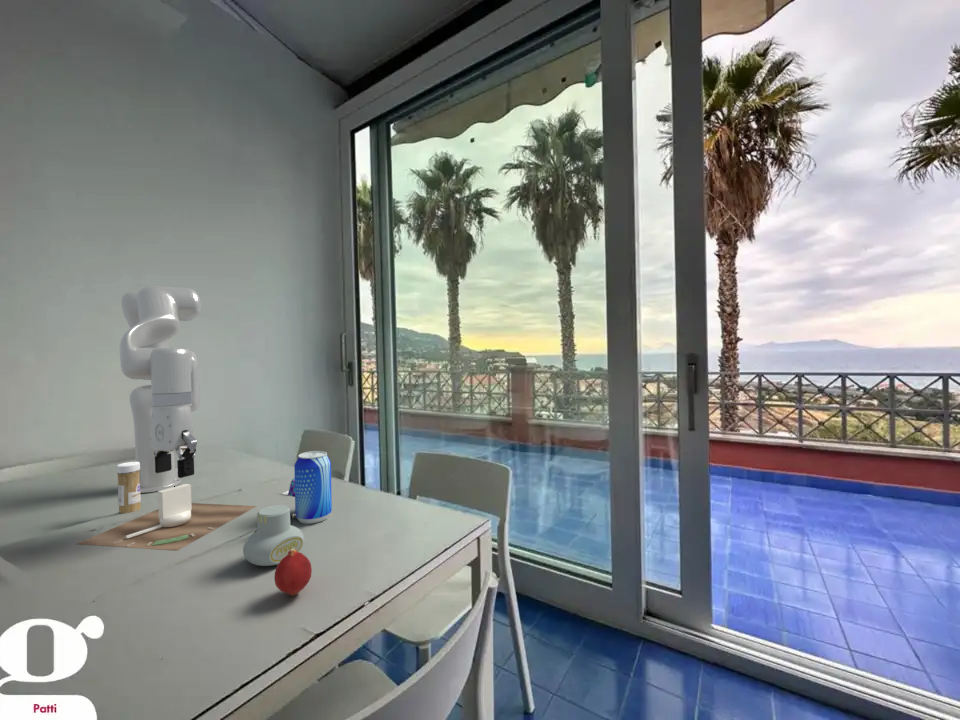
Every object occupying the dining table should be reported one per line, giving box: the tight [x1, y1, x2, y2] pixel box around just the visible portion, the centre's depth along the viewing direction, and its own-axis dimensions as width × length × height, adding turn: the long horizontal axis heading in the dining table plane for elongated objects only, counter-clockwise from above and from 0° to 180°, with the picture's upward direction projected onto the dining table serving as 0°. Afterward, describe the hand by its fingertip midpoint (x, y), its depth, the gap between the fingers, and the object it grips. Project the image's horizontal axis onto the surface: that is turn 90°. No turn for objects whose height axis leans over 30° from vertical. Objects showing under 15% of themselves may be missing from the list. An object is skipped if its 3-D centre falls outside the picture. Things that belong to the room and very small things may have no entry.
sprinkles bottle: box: [116, 461, 142, 514], centre depth 106 cm, size 5×5×14 cm
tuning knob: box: [126, 483, 192, 539], centre depth 95 cm, size 12×6×8 cm, turn 152°
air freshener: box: [242, 504, 305, 567], centre depth 83 cm, size 11×8×10 cm
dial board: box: [76, 502, 257, 551], centre depth 98 cm, size 24×24×2 cm
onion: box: [274, 549, 313, 597], centre depth 71 cm, size 6×6×8 cm
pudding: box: [282, 477, 295, 498], centre depth 120 cm, size 12×12×5 cm
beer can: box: [293, 450, 333, 525], centre depth 104 cm, size 8×8×16 cm
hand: (174, 473), depth 97 cm, fingers open, 9 cm apart
